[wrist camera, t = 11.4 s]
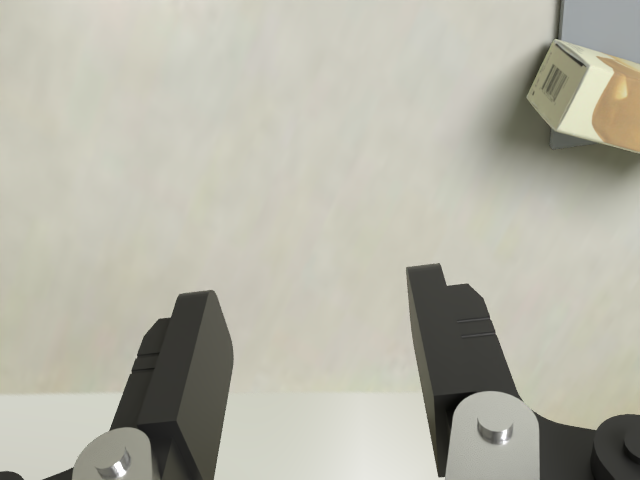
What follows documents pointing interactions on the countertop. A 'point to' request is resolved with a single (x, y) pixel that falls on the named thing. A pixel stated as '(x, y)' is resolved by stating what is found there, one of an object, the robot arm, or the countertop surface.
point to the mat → (599, 38)
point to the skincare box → (589, 95)
